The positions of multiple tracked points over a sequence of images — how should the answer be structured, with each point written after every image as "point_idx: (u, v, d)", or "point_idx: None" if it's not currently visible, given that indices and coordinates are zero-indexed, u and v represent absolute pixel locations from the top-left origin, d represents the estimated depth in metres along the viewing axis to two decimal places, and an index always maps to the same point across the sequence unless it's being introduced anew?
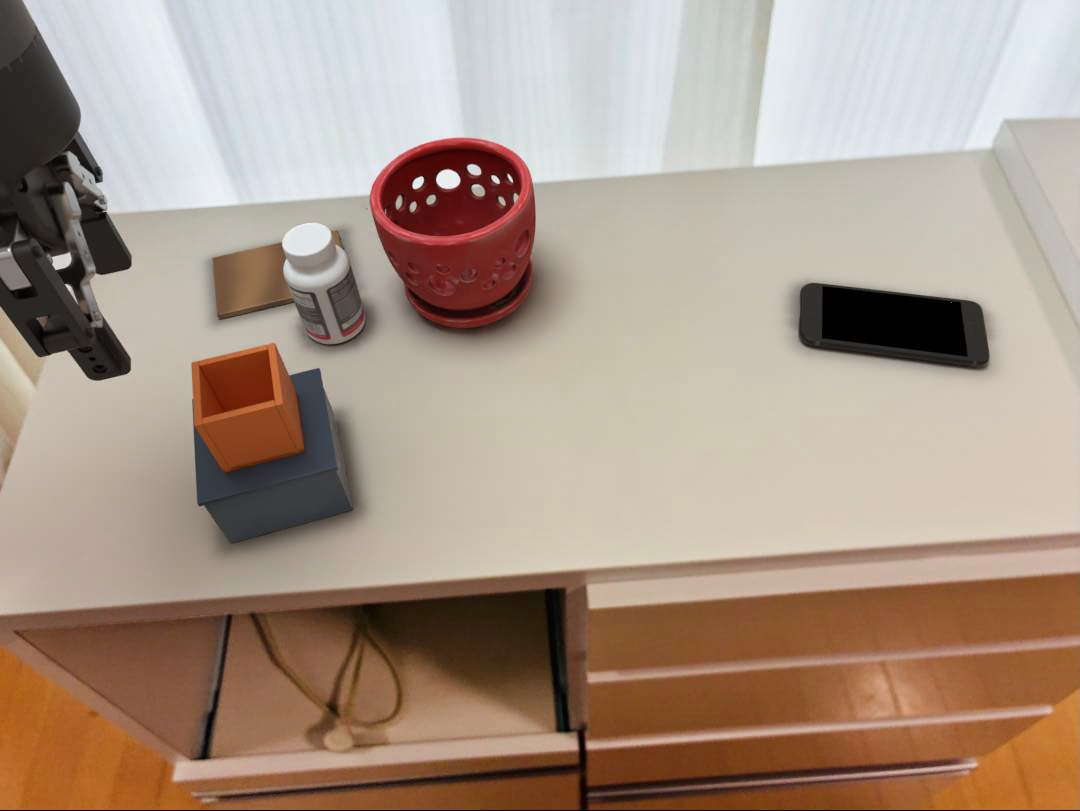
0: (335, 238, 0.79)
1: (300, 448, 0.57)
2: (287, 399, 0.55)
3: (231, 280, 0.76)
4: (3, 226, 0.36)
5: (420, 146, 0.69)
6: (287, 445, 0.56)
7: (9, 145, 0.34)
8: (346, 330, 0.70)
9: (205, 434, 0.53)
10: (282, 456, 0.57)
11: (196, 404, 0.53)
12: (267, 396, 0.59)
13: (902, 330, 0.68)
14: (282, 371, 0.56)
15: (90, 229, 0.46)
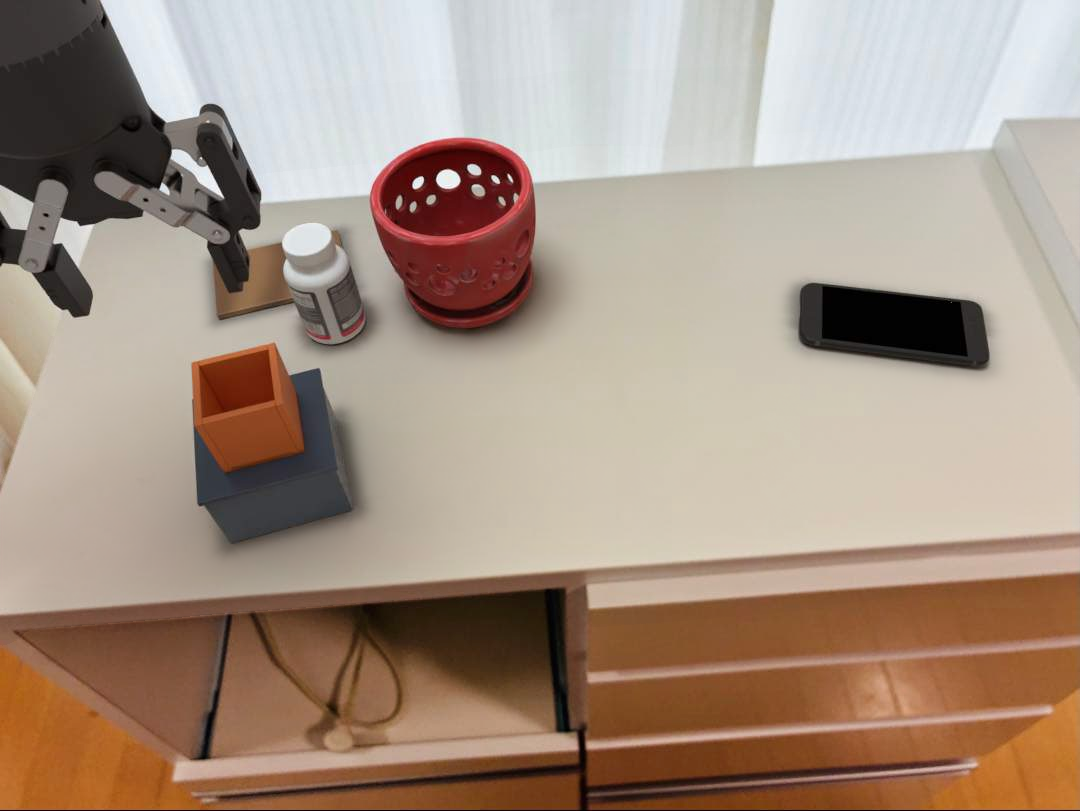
0: (335, 238, 0.79)
1: (300, 448, 0.57)
2: (287, 399, 0.55)
3: None
4: (170, 128, 0.39)
5: (420, 146, 0.69)
6: (287, 445, 0.56)
7: None
8: (346, 330, 0.70)
9: (205, 434, 0.53)
10: (282, 456, 0.57)
11: (196, 404, 0.53)
12: (267, 396, 0.59)
13: (902, 330, 0.68)
14: (282, 371, 0.56)
15: (62, 262, 0.44)
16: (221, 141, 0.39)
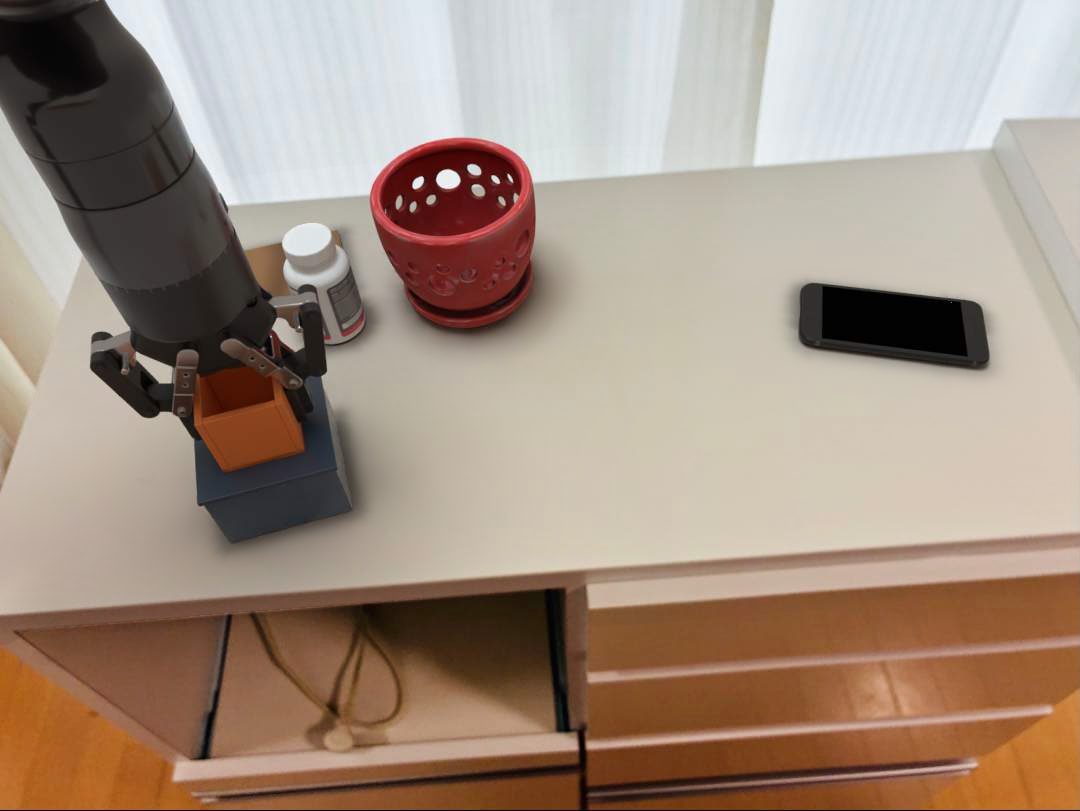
0: (335, 238, 0.79)
1: (300, 448, 0.57)
2: None
3: None
4: (279, 302, 0.50)
5: (420, 146, 0.69)
6: (287, 445, 0.56)
7: None
8: (346, 330, 0.70)
9: (205, 434, 0.53)
10: (282, 456, 0.57)
11: (196, 404, 0.53)
12: (267, 396, 0.59)
13: (902, 330, 0.68)
14: None
15: None
16: (321, 317, 0.50)
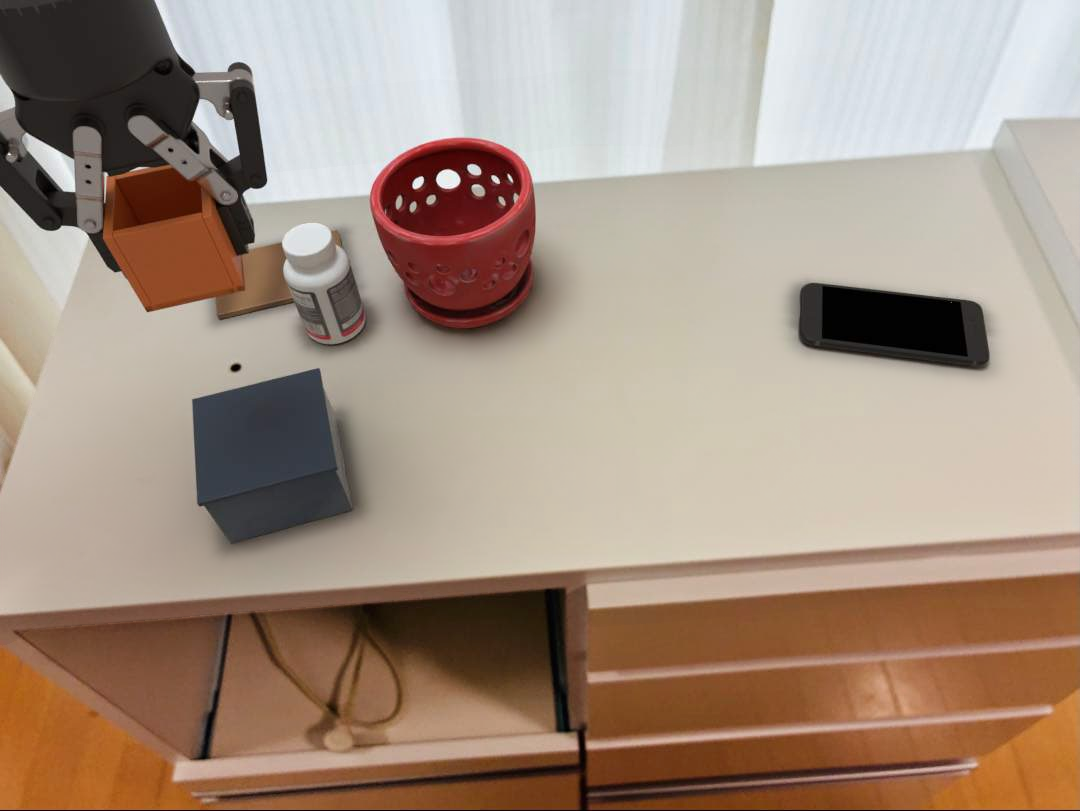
0: (335, 238, 0.79)
1: (238, 284, 0.47)
2: None
3: None
4: (203, 78, 0.41)
5: (420, 146, 0.69)
6: (222, 278, 0.47)
7: None
8: (346, 330, 0.70)
9: (118, 252, 0.44)
10: (217, 294, 0.47)
11: (107, 217, 0.44)
12: None
13: (902, 330, 0.68)
14: None
15: None
16: (254, 98, 0.41)
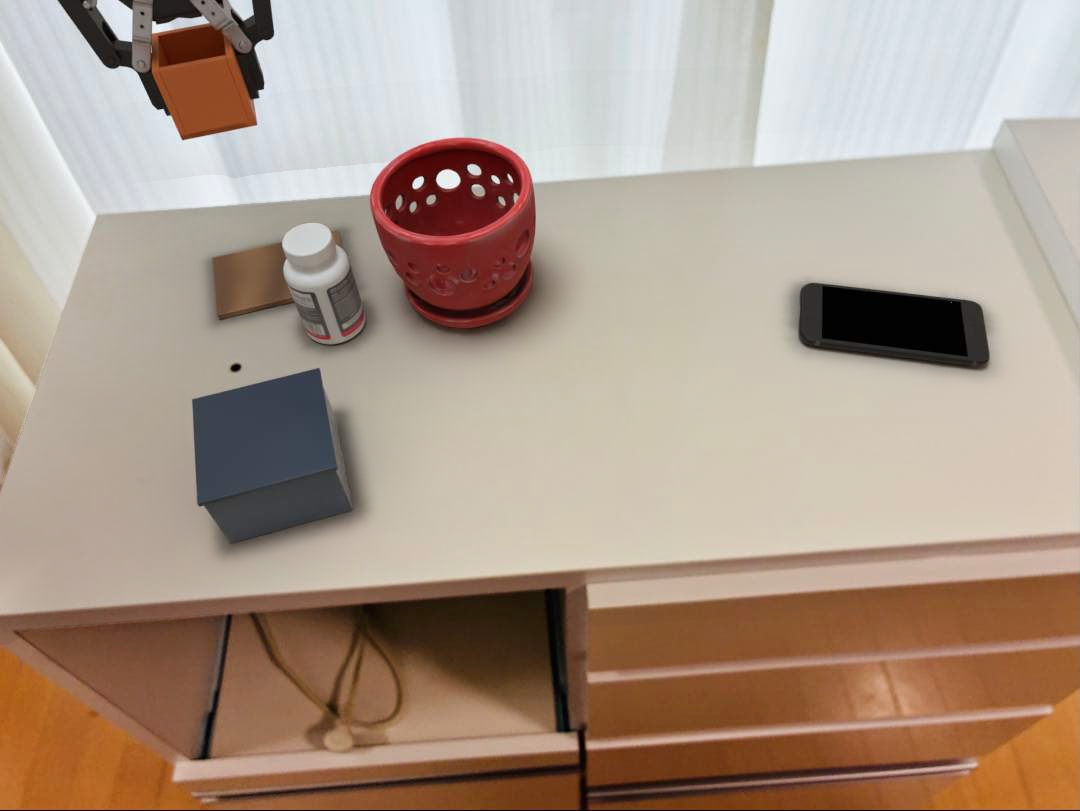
0: (335, 238, 0.79)
1: (252, 119, 0.62)
2: None
3: (231, 280, 0.76)
4: None
5: (420, 146, 0.69)
6: (239, 113, 0.61)
7: None
8: (346, 330, 0.70)
9: (162, 85, 0.58)
10: (235, 127, 0.62)
11: (154, 58, 0.58)
12: None
13: (902, 330, 0.68)
14: None
15: None
16: None
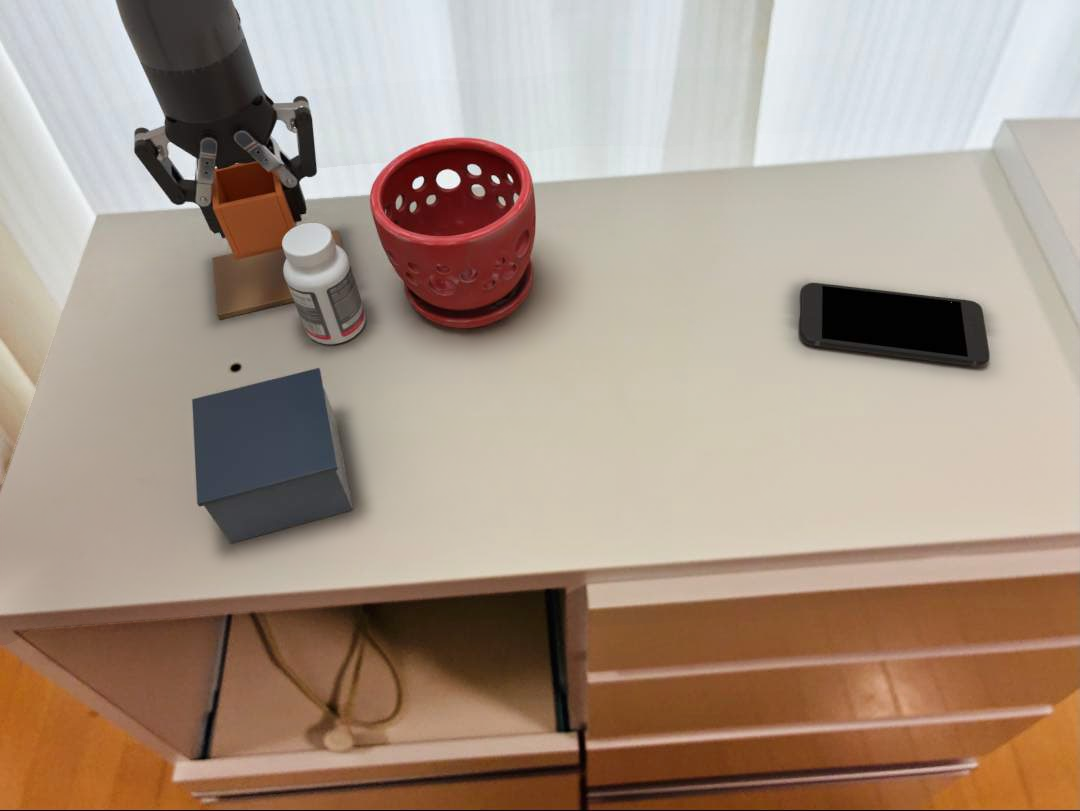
0: (335, 238, 0.79)
1: None
2: (285, 197, 0.70)
3: (231, 280, 0.76)
4: (279, 107, 0.65)
5: (420, 146, 0.69)
6: None
7: None
8: (346, 330, 0.70)
9: (221, 218, 0.67)
10: (282, 247, 0.71)
11: (214, 195, 0.68)
12: None
13: (902, 330, 0.68)
14: None
15: None
16: (311, 119, 0.65)
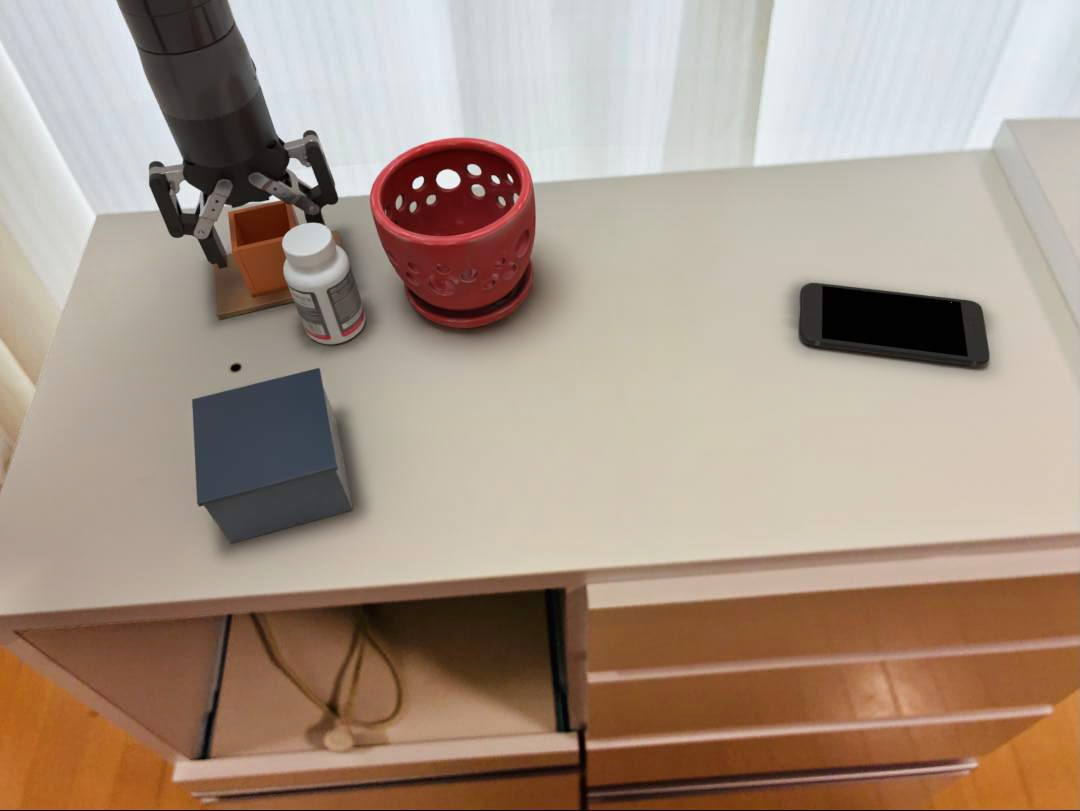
0: (335, 238, 0.79)
1: None
2: None
3: (231, 280, 0.76)
4: (289, 145, 0.67)
5: (420, 146, 0.69)
6: None
7: None
8: (346, 330, 0.70)
9: (239, 260, 0.71)
10: None
11: (232, 238, 0.71)
12: None
13: (902, 330, 0.68)
14: (296, 220, 0.74)
15: (214, 233, 0.72)
16: (320, 151, 0.67)
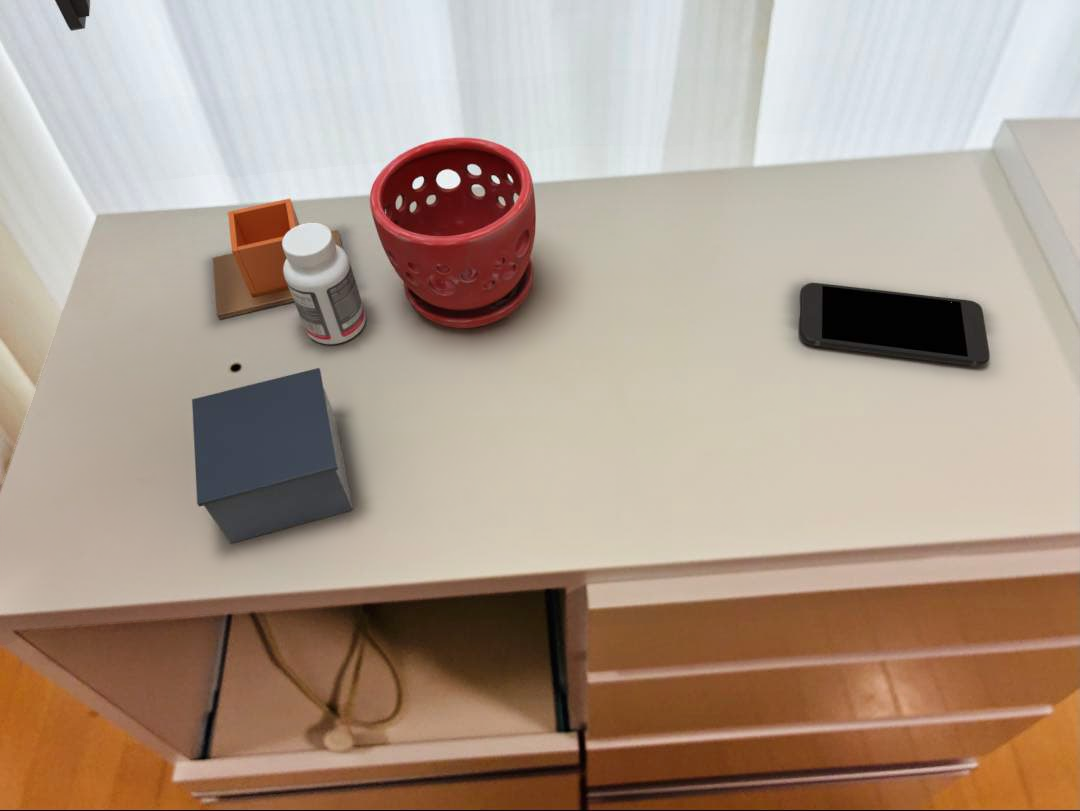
0: (335, 238, 0.79)
1: None
2: None
3: (231, 280, 0.76)
4: None
5: (420, 146, 0.69)
6: None
7: None
8: (346, 330, 0.70)
9: (239, 260, 0.71)
10: None
11: (232, 238, 0.71)
12: None
13: (902, 330, 0.68)
14: (296, 220, 0.74)
15: None
16: None
